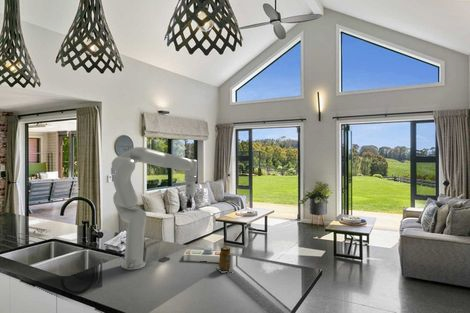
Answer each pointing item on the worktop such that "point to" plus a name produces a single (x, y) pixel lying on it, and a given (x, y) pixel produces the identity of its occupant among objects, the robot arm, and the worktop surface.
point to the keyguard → (201, 256)
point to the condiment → (224, 259)
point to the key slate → (208, 251)
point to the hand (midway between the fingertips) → (189, 207)
